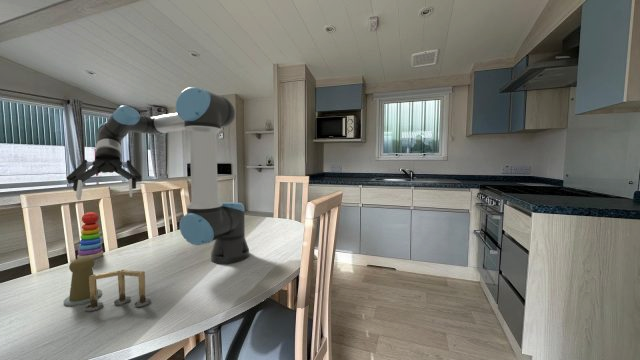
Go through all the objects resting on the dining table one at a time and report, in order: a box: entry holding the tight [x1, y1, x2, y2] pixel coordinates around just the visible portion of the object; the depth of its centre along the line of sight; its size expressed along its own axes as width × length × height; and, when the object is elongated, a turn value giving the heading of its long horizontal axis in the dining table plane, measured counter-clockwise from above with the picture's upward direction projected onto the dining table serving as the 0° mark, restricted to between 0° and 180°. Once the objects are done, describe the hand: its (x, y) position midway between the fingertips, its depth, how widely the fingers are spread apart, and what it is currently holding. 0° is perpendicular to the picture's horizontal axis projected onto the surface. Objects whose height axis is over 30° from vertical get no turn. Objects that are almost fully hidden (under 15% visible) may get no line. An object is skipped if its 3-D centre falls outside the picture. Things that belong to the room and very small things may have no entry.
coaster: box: [63, 288, 103, 307], centre depth 71 cm, size 8×8×1 cm
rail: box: [84, 269, 152, 313], centre depth 67 cm, size 15×8×9 cm, turn 121°
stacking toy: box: [76, 211, 104, 260], centre depth 101 cm, size 8×8×19 cm
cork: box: [68, 257, 98, 302], centre depth 71 cm, size 6×6×11 cm
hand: (105, 196), depth 84 cm, fingers open, 13 cm apart
